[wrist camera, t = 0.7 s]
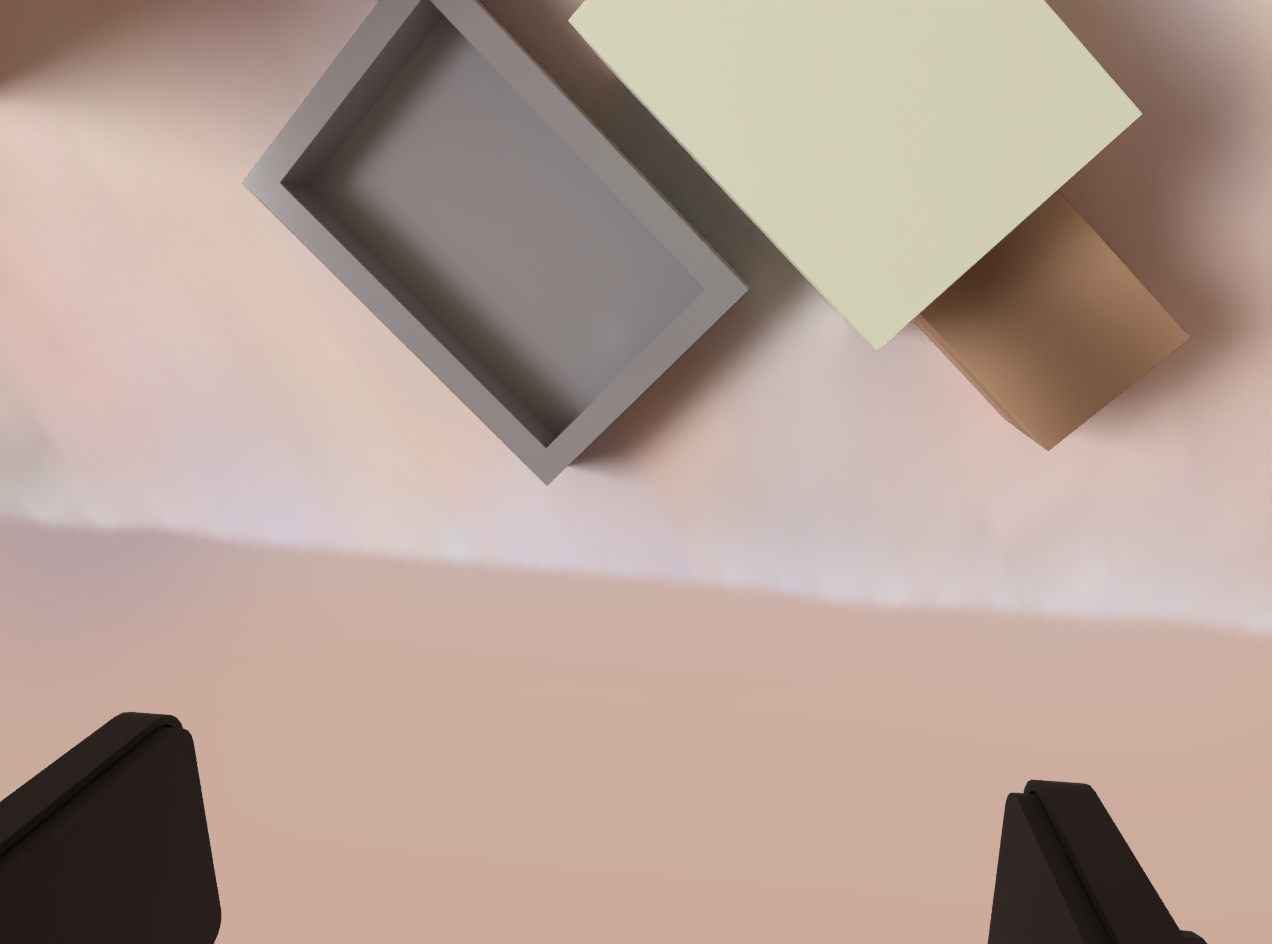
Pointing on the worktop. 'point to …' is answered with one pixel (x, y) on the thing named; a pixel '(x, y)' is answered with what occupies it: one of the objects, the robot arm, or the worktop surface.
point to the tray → (492, 226)
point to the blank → (1050, 324)
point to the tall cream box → (869, 126)
